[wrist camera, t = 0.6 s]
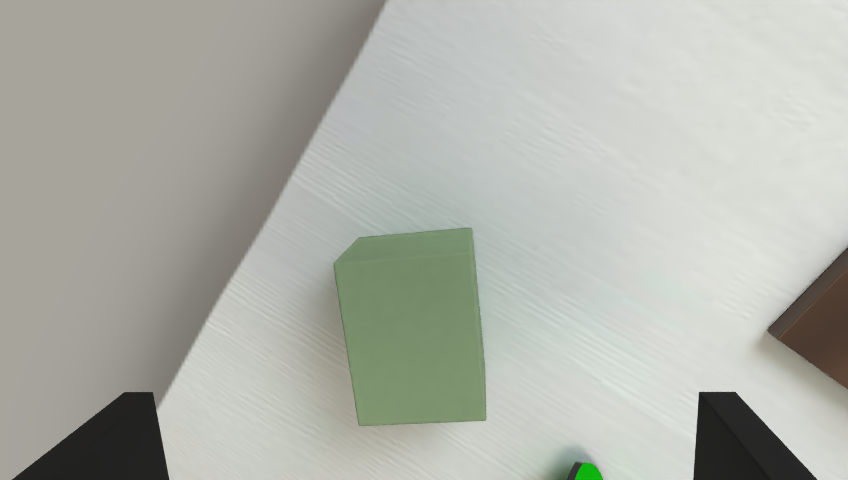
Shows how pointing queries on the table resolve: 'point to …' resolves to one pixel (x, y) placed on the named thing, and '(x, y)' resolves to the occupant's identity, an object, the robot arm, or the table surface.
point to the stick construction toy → (584, 472)
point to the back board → (820, 322)
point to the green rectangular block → (413, 328)
